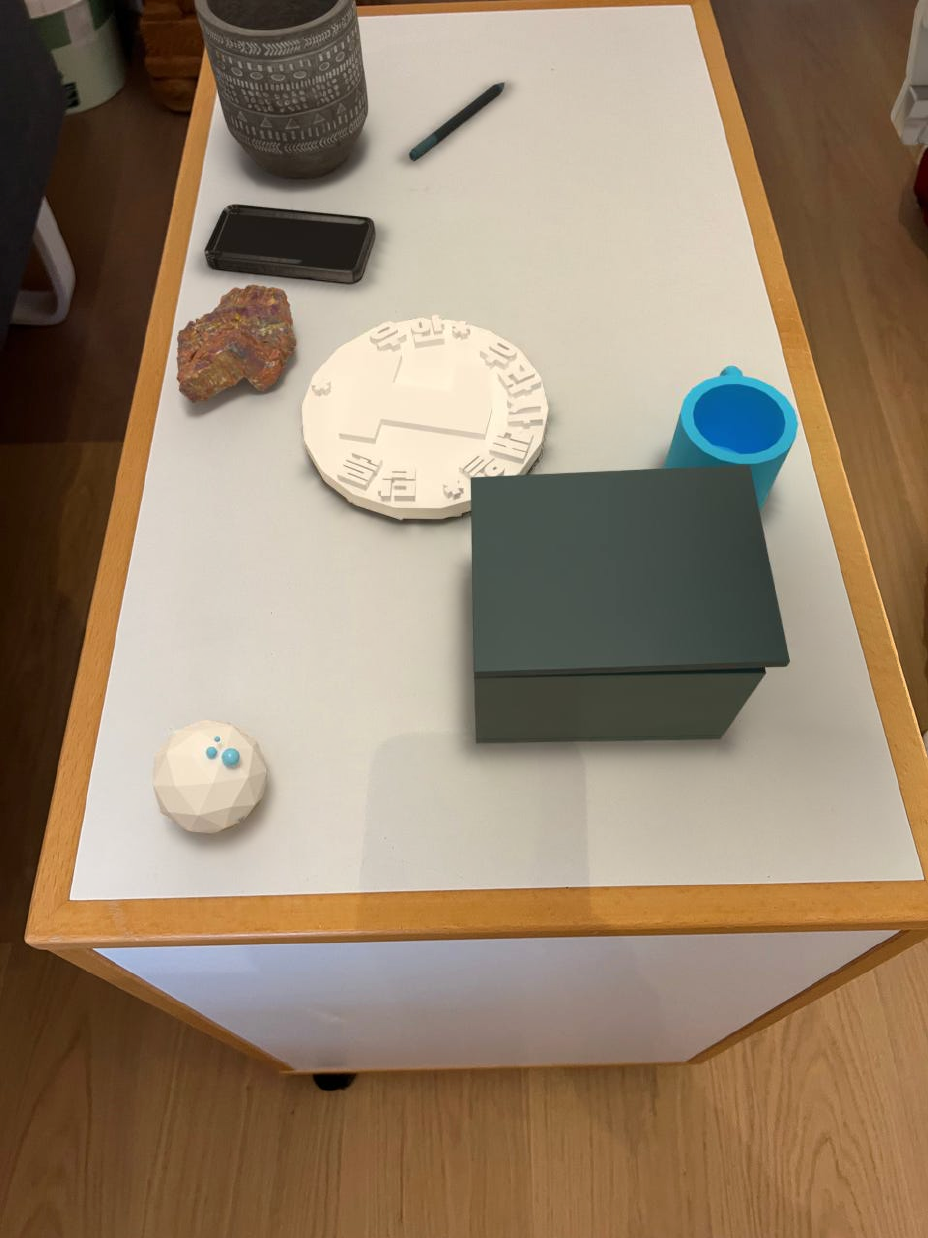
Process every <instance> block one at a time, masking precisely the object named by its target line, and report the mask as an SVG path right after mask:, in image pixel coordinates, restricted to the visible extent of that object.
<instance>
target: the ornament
mask: <svg viewBox="0 0 928 1238" xmlns="http://www.w3.org/2000/svg"><path fill="white" fill-rule="evenodd" d="M152 770H153V772H152V788H153V791H154V795H155V798H156V801H157V804H158V807H159V810H160V811H159V812H160V813H161V814H162V815H163V816H165V817H167V818H168V819H170V820H171V821H172V822H174V823H175V824H177V825H179V826H180V827H181V828H183V829H184V830H186V831H188V832H194V833H209V834H215V833H217V832H222V831H225V830H229V829H231V828H233V827H235V826H237V825H239V824H241V823H242V822H244V821H245V820H246V819H247V818H248V817H249V816H250V815H251V814H253V812H254V810H256V807H257V806H258V805H259V803H260V802H261V799H262V798H263V796H265V789H266V788H265V787H266V782H267V773H268V770H267V767H266V764H265V761H264V758H263V754H262V751H261V747H260V745H259V742H258V740H257V739H255V738H254V737H252V736H250V735H249V734H247V733H245V732H244V731H242V730H241V729H240V728H238V727H236V726H234V725H233V724H231V723H228V722H222V721H217V720H212V719H209V718H205V719H202V720H200V721H197V722H195V723H192V724H190V725H189V724H188V725H187V726H185V727H182V728H178V729H176V730H174V731H173V733H172V734H171V735H170V737H169V738H168V739H167V740H166V741H165V743H164V744H163V745H162V746H161V748H160V749H159V750H158V751H157V753H156V754H155V755H154V758H153V769H152Z"/></svg>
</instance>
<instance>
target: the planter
mask: <svg viewBox="0 0 928 1238" xmlns="http://www.w3.org/2000/svg"><path fill="white" fill-rule="evenodd" d="M193 3H194V7H195V11H196V15H197V19H198V22H199V26H200V29H201V34H202V38H203V43H204V47H205V50H206V53H207V58H208V62H209V64H210V68H211V72H212V75H213V79H214V82H215V85H216V92H217V95H218V100H219V103H220V107H221V110H222V114H223V117H224V121H225V124H226V127H227V129H228V131H229V133H230V135H231V136H232V137H233V139H234V140H235V141H236V142H237V143H238V145H239V146H240V147H241V148H242V149H244V151H245V152H246V153H247V154H248V155H249V156H250V157H251V158H252V159H253V160H254V161H256V162H257V163H258V164H259V165H260V166H261V167H263V169H264V170H266V172H269V174H272V175H274V176H276V177H278V178H283V179H286V180H295V181H296V180H297V181H303V180H305V181H306V180H312V179H313V180H314V179H317V178H321V177H324V176H327V175H329V174H331V173H333V172H335V171H336V170H337V169H340V167H342V166H343V165H344V164H345V162H347V160H348V159H349V157H350V155H351V153H352V151H353V150H354V147H355V146H356V144H357V142H358V140H359V138H360V135H361V133H362V131H363V128H364V126H365V123H366V121H367V118H368V114H369V97H368V87H367V80H366V73H365V66H364V60H363V59H364V58H363V50H362V41H361V32H360V24H359V23H360V22H359V17H358V9H357V3H356V0H193Z"/></svg>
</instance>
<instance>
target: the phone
mask: <svg viewBox="0 0 928 1238" xmlns="http://www.w3.org/2000/svg"><path fill="white" fill-rule="evenodd" d="M375 238H376V226H375V221H374V220H373V219H372V218H371V217H367V216H361V215H352V214H351V215H350V214H340V213H332V212H331V213H330V212H319V211H310V210H301V209H290V208H279V207H269V206H259V205H249V204H239V203H238V204H237V203H235V204H234V203H233V204H229V205H227V206H225V207H224V208H223V209H222V211H221V213H220V215H219V217H218V220H217V222H216V224H215V226H214V228H213V230H212V232H211V234H210V237H209V238H208V241H207V243H206V245H205V248H204V250H203V253H204V257H205V259H206V263H207V264H208V266H209V267H210V268H212V269H216V270H226V271H235V272H245V273H253V274H264V275H271V276H272V275H273V276H283V277H292V278H302V279H313V280H320V281H330V282H339V283H355V282H357V281H359V280H360V279H361V278H362V277H363V275H364V272H365V270H366V269H365V268H366V265H367V262H368V260H369V258H370V257H369V256H370V254H371V251H372V247H373V244H374V242H375Z"/></svg>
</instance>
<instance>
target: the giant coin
mask: <svg viewBox="0 0 928 1238" xmlns="http://www.w3.org/2000/svg"><path fill="white" fill-rule="evenodd" d="M301 417H302V430H303V431H302V432H303V440H304V446H305V448H306V449H305V450H306V452H307V453H308V455H309V457H310V458H311V460H312V462H313V464H314V466H315V467H316V469H317V471H318V472H319V474H320V476H321V478H322V480H323V481H324V483H326V484H327V485H328V486H330V487H331V488H332V489H333V490H335V491H336V492H337V493H339V494H340V495H342V496H343V497H344V498H346V500H347V501H348V502H349V504H351V503H352V504H353V505H355V506H357V507H360V508H363V509H367V510H369V511H372V512H376V513H378V514H382V515H385V516H388V517H391V518H394V519H397V520H398V521H401V522H403V520H404V519H409V520H410V519H416V520H418V519H419V520H422V519H423V520H443V519H447V518H452V517H453V518H455V517H456V518H457V517H463V516H462V514H464V513H467V512H471V477H489V476H511V475H527V473H528V472H529V471H530V469H531V467H533V465H534V463H535V462H536V461H537V460H538V458H539V456H540V455H541V453H542V450H543V449H542V448H543V443H544V439H545V433H546V429H547V425H548V419H549V418H548V417H549V405H548V401H547V397H546V393H545V388H544V385H543V381H542V376H541V375H540V374H539V373H538V372H537V370H536V369H535V368H534V366H533V365H532V363H531V362H530V361H529V359H528V358H527V357H526V356H525V355H524V354H523V352H522V351H521V350H520V349H519V348H518V347H517V346H516V345H515V344H513V343H511V342H509V341H507V340H506V339H503V338H502V337H500V336H499V335H497V334H496V333H494V332H492V331H491V330H488V329H485V328H481V327H478V326H475V325H472V324H470V323H469V324H467V320H462V319H461V320H459V321H456V320H453V319H443V318H442V319H441V318H440V314H436V315H431V316H430V319H427V318H425V317H417V318H414V319H407V320H403V321H399V322H395V321H392V320H391V321H386V322H384V323H382V324H379V325H377V326H375V327H374V328H371V329H369V330H368V331H365V332H364V333H362V334H361V335H359V336H357V337H356V338H353V339H351V340H350V341H349V342H347V343H345V344H343V345H341V346H340V347H338V348H337V349H336V350H335V351H334V352H333V353H332V354H331V355H330V356H329V358H328V359H327V360H326V361H325V362H324V363H323V364H322V365H321V366H320V367H319V368H318V369H317V371H316V372H314V374H313V376H312V377H311V381H310V383H309V385H308V388H307V391H306V393H305V396H304V399H303V401H302V404H301Z"/></svg>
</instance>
